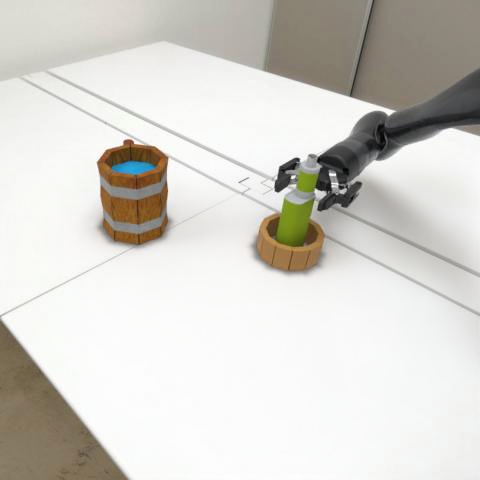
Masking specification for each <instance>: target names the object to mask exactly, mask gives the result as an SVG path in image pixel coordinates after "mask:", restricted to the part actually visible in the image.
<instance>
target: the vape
mask: <svg viewBox="0 0 480 480" xmlns="http://www.w3.org/2000/svg"><path fill="white" fill-rule="evenodd" d="M318 156H319V155H318V154H316V153H309V154H307V158H306V160H304V161H301V162H300V163H301V166H300V172H299V176H298V181H297V185H296V184H295V188H294V189H293V190H291V191H288V192H287V193H285V194H284V198H283V202H282V207H281V212H280V213H281V216H280V221H279V226H278V231H277V236H275V241H277V242H278V243H280V244H284V245H287V246H291V247H304V244H305V242H304V240H305V236H306V232H307V228H308V224H309V220H310V219H311V216H312V213H313V212H312V211H313V208H314V204H315V200H316V196H317V194H316V192H315V191H316V188H315V186H316V182H317V178H318V174H319V171H320V165H319V164H318V163H317V158H318Z"/></svg>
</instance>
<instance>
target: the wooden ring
mask: <svg viewBox="0 0 480 480" xmlns="http://www.w3.org/2000/svg"><path fill="white" fill-rule="evenodd" d="M280 216H281V212H276V213H273V214H271V215H268V216H266V217H264V218H263V220H262V221H261V223H260V225H259V227H258V234H257V240H256V250H257V254H258V255H259V258H260V259H261V260H263V261H264V262H265V263H266V264H268V265H269V266H271V267H273V268H276V269H280V270H283V271H287V272H297V271H306V270H308V269H310V268H312V267H313V266H316V265H317V264H318V261H319V258H320V255H321V252H322V248H323V245H324V240H325V237H326V233H325V232H324V230H323V228H322V227H321V225H320V224H319V223H318V222H317V221H315V220H313V219H312V218H310V220H309V224H308V228H307V232H306V236H305V240H304V244H306V246H303V247H291V246H287V245H284V244H280V243H278V242H277V241H276V239H274V237H276V236H277V231H278V226H279V221H280Z"/></svg>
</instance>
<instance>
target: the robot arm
mask: <svg viewBox="0 0 480 480" xmlns="http://www.w3.org/2000/svg"><path fill="white" fill-rule="evenodd" d="M464 127H480V66H479V67H477V68H475V69H473V70H472V71H470V72H469V73H467V74H466V75H464V76H463V77H461V78H460V79H459V80H457V81H455V82H453V84H451V85H449V86H447V87H446V88H444V89H443V90H441V91H439V92H438V93H436V94H434V95H433V96H429V97H428V98H426V99H424V100H421V101H418V102H416V103H413V104H410V105H408V106H406V107H403V108H401V109H398V110H396V111H394V112H392V113H391V114H387V113H386V112H385V111H383V110H372V111H369V112H367V113H365V114H364V115H363V116H361V117H360V118H359V119H358V120H357V121H356V123H355V124H354V125H353V127H352V128H351V131H350V133H349V135H348V137H346V138H345V139H343V140H342V141H339V142H337V143H335V144H334V145H332V146H331V147H329V148H328V149H327V150H325V151H324V152H322V153H321V154H319V155H317V156H318V158H317V163H318V164H319V165H320V171H319V174H318V178H317V182H316V186H315V190H316V191H317V190H318V191H319V192H324V193H325V195H324V196H323V197H321V199H319V201H318V204H317V208H316V211H317V212H319V213H322V212H323V211H324V212H325V211H329V209H331V208H332V207H333V206H336V205H340V207H341V208H344V209H347V208H348V207H349V206H350V205H351V204H352V203H353V202H354V201H355V200H356V199H357V198H358V197H359V195H360V192H361V189H362V186H363V182H362V181H360V180H356V181H355V182H354V183H353V182H352V181H353V180H355V179H356V178H357V177H358V176H360V175H361V173H363V171H364V170H365V169H367V167H369V165H371V164H372V163H374V162H375V161H376V162H383V161H386V160H388V159H390V158H392V157H393V156H394V155H396V154H397V153H398V152H399V151H401V150H402V149H403V148H404V147H406V146H409V145H413V144H416V143H420V142H424V141H428V140H430V139H432V138H434V137H436V136H438V135H439V134H440V133H442V132H443V131H445V130H449V129H452V128H464ZM301 163H302V162H301V158H300V157H297V156H296V157H293V158H292V159H290V160H288V161H286V162H285V163H283V164H281V165H279V167H278V171H277V175H276V176H277V177H276V179H275V180H274V186H273V189H274V192H275V193H277V194H279V193H281V192H282V191H283V190H285V189H286V188H287V187H289V186H293V185H295V186H296V185H297V181H298V176H299V172H300V166H301ZM293 176H294V178H292V177H293ZM344 189H345V192H344V193H341V191H342V190H343V191H344Z"/></svg>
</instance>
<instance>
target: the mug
mask: <svg viewBox="0 0 480 480" xmlns="http://www.w3.org/2000/svg"><path fill="white" fill-rule="evenodd" d="M96 165H97V171H98V174H99V175H98V176H99V184H100V185H99V186H100V187H99V189H100V191H99V197H100V202H101V206H102V214H103V222H102V223H103V224H102V225H103V226H102V227H103V229H104V230H105V231H106V233H107V234H108V235H109V237H111V239H112V240H113V241H114V242H119V243H126V244H132V245H139V246H140V245H142V244H145V243H148V242H151V241H153V240H156V239H159V238H162V237H163V235H164V234H165V233H164V232H165V231H166V228H167V226H168V223H169V219H168V197H169V185H168V166H169V156H168V155H166V154H165V153H164V152H163V151H162V150H160V149H159V148H158V147H157V146H155V145H148V144H147V145H146V144H139V143H137V144H136V143H135V141H134V140H133V139H131V138H126V139H124V140H123V141H122V145H119V146H114V147H111V148H107V149H105V150H104V152H103V153H102V154H101V156H100V157H99V159H98V160H97V161H96Z"/></svg>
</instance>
